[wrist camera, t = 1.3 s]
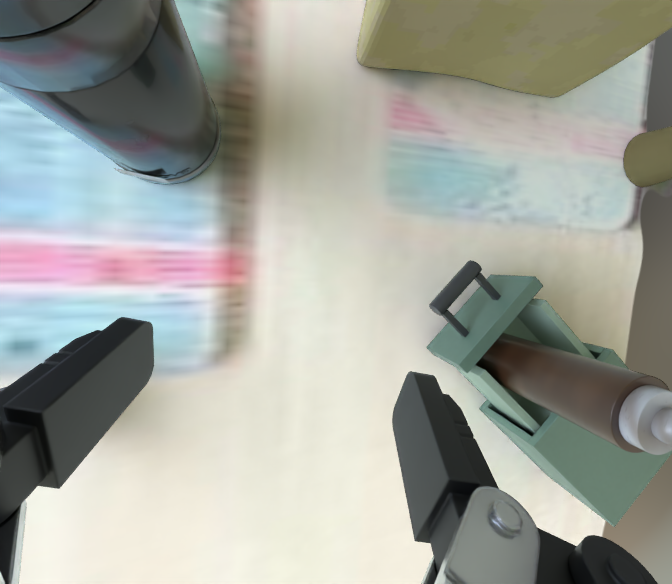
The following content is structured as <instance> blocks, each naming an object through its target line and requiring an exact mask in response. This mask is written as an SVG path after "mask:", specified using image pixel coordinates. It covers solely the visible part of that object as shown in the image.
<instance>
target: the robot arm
mask: <svg viewBox="0 0 672 584" xmlns="http://www.w3.org/2000/svg"><path fill="white" fill-rule="evenodd" d="M0 87H1V88H2V89H4V90H6V91H7V92H9V93H10V94H12V95H13V96H15V97H16V98H18V99H19V100H21V101H22V102H24V103H25V104H27V105H29V106H30V107H32V108H33V109H35V110H36V111H38V112H39V113H41V114H42V115H44V116H45V117H47V118H48V119H50V120H51V121H53V122H55V123H56V124H58V125H59V126H61V127H62V128H64V129H65V130H67V131H68V132H70V133H71V134H73V135H74V136H76V137H78V138H79V139H81V140H82V141H84V142H85V143H87V144H88V145H90V146H91V147H93V148H94V149H96V150H97V151H99V152H101V153H102V154H104V155H105V156H107V157H108V158H110V159H111V160H113V161H114V162H115V163H116V164H117V165H119V166H120V167H121V168H123V169H124V170H121V169H116V168H114V169H115V170H117V171H119V172H120V173H122V174H127V175H131V176H136V177H138V178H140V179H143V180H145V181H149V182H152V183H158V184H176V183H181V182H185V181H188V180H190V179H192V178H194V177H196V176H198V175H199V174H201V173H202V172H203V171H204V170H205V169H206V168H207V167H208V166H209V165H210V164H211V162H212V161H213V159H214V158H215V156H216V153H217V151H218V148H219V144H220V138H221V127H220V120H219V117H218V113H217V110H216V108H215V105H214V103H213V101H212V99H211V97H210V95H209V93H208V90H207V87H206V84H205V82H204V79H203V76H202V74H201V71H200V68H199V66H198V63H197V60H196V58H195V55H194V52H193V50H192V47H191V44H190V42H189V39H188V36H187V34H186V31H185V28H184V26H183V23H182V21H181V18H180V15H179V13H178V10H177V7H176V5H175V2H174V0H0ZM125 170H126V171H125ZM153 367H154V348H153V327H152V324H151V323H150V322H147V321H141V320H136V319H131V318H125V317H121V318H119V319H117V320H116V321H115V322H113V323H112V324H111V325H109V326H108V327H107V328H105V329H104V330H103V331H99V330H96V331H94V332H91V333H89V334H86V335H84V336H81V337H79V338H76V339H75V340H73V341H72V342H70V343H69V344H68V345H66V346H65V347H63V348H62V349H60V350H59V352H58V353H55V354H53V355H52V356H51V357H49V358H48V359H46V360H45V362H44V363H43V364H42V363H41V364H39V365H38V366H36V367H35V368H34V369H32V370H31V371H29V372H28V373H27V374H25V375H24V376H22V377H21V378H19V379H18V380H17V381H15V382H14V383H12V384H11V385H10V386H8V387H7V388H5V389H4V390H3V391H1V392H0V584H19V578H20V568H21V558H22V548H23V538H24V528H25V518H26V508H27V507H26V500H25V499H26V498H27V497H28V496H29V495H30V494H31V493H32V491H33V490H34V489H35V488H36V487H37V486H44V487H51V488H58V489H59V488H60V487H61V486H62V485H63V484H64V482H65V481H66V480H67V479H68V478H69V476H70V475H71V474H72V473H73V472H74V470H75V469H76V468H77V467H78V466H79V464H80V463H81V462H82V461H83V460H84V458H85V457H86V456H87V455H88V454H89V452H90V451H91V450H92V449H93V448H94V446H95V445H96V444H97V443H98V442H99V440H100V439H101V438H102V437H103V436H104V434H105V433H106V432H107V431H108V430H109V428H110V427H111V426H112V425H113V424H114V422H115V421H116V420H117V419H118V418H119V416H120V415H121V414H122V413H123V412H124V410H125V409H126V408H127V407H128V406H129V404H130V403H131V402H132V401H133V400H134V398H135V397H136V396H137V395H138V394H139V392H140V391H141V390H142V389H143V388H144V386H145V385H146V384H147V382H148V381H149V379H150V377H151V374H152V371H153ZM392 423H393V431H394V436H395V441H396V446H397V451H398V457H399V462H400V467H401V472H402V477H403V482H404V487H405V493H406V498H407V503H408V508H409V513H410V518H411V524H412V529H413V534H414V539H415V541H418V542H425V543H431V547H432V551H433V555H434V556H433V558H432V560H431V561H430V563H429V566H428V568H427V571H426V573H425V575H424V578H423V580H422V583H421V584H657V582H656V581H655V580H654V578H653V577H652V575H651V574H650V573H649V572H648V571H647V570H646V569H645V567H644V566H643V565H641V563H640V562H639V561H638V560H636V559H635V558H634V557H633V556H632V555H631V554H630V553H628V552H627V551H626V550H624V549H623V548H622V547H620V546H619V545H617V544H615V543H614V542H612V541H610V540H608V539H606V538H603V537H600V536H595V535H591V536H587V537H585V538H584V539H583V540H582V542H581V543H580V544H579V545H578V546H575V545H573V544H570V543H568V542H566V541H564V540H562V539H560V538H558V537H556V536H554V535H551V534H549V533H547V532H545V531H543V530H541V529H539V528H537V527H536V525H535V523H534V521H533V520H532V518H531V516H530V515H529V514H528V512H527V511H526V510H525V509H524V508H523V506H522V505H521V504H520V503H519V502H517V501H516V500H515V499H514V498H513V497H511V496H510V495H508V494H507V493H505V492H503V491H501V490H499V488H498V486H497V484H496V482H495V480H494V478H493V476H492V474H491V471H490V469H489V467H488V465H487V463H486V461H485V459H484V457H483V454H482V452H481V450H480V448H479V446H478V444H477V442H476V440H475V439H474V438H473V436H474V435H473V433H472V431H471V429H470V427H469V426H468V425H467V424H468V423H467V421H466V419H465V416H464V414H463V412H462V410H461V408H460V407H459V406H458V405H457V404H456V403H455V401H454V400H453V399H452V398H451V397H450V396H449V395H447V394H442V392H441V389H440V387H439V384H438V382H437V380H436V378H435V376H433V375H428V374H422V373H417V372H412V371H410V372H409V373H408V374H407V376H406V378H405V381H404V384H403V386H402V389H401V391H400V394H399V396H398V399H397V402H396V404H395V407H394V411H393V419H392Z"/></svg>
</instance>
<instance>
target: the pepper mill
mask: <svg viewBox="0 0 672 584" xmlns="http://www.w3.org/2000/svg"><path fill="white" fill-rule="evenodd" d="M475 365H476V366H478V367H480V368H482V369H485V370H486V371H487V372H488V373H489V374H490V375H491V376H492V377H493V378H494V379H495V380H496V381H497V382H498V383H499V384H500V385H502V386H503V387H505V388H507V389H509V390H511V391H513V392H515V393H517V394H519V395H521V396H522V397H524V398H526V399H528V400H530V401H532V402H534V403H536V404H538V405H540V406H541V407H543V408H545V409H547V410H549V411H551V412H553V413H555V414H557V415H558V416H560V417H562V418H564V419H566V420H568V421H570V422H572V423H574V424H576V425H577V426H579V427H581V428H583V429H585V430H587V431H589V432H591V433H593V434H595V435H596V436H598V437H600V438H602V439H604V440H606V441H608V442H610V443H612V444H614V445H615V446H617V447H619V448H621V449H623V450H625V451H627V452H631V453H641V452H647V453H649V454H653V455H662V454H665V453H668V452H669V451H671V450H672V391H670V390H669V388H668V386H667V385H666V384H665V383H664V382H663V381H661V380H660V379H658V378H656V377H653V376H649V375H645V374H642V373H639V372H636V371H632V370H629V369H625V368H622V367H618V366H615V365H612V364H608V363H605V362H601V361H598V360H595V359H591V358H588V357H584V356H581V355H577V354H574V353H571V352H567V351H564V350H560V349H557V348H554V347H550V346H547V345H543V344H540V343H537V342H533V341H530V340H526V339H523V338H519V337H516V336H513V335H509V334H506V333H502V334H501V335H500V337H499V338H498V339H497V340H496V341H495V342H494V343H493V345H492V346H491V347H490V348H489V349H488V350H487V352H486V353H485V354H484V355H483V356H482V357H481V359H480V360H479V361H478V362H477V363H476V364H475Z"/></svg>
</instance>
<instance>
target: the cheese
mask: <svg viewBox="0 0 672 584" xmlns="http://www.w3.org/2000/svg"><path fill="white" fill-rule="evenodd" d="M670 28H672V0H367V1H366V5H365V10H364V15H363V20H362V25H361V30H360V35H359V40H358V46H357V60H358V62H359V63H360V64H361V65H363V66H367V67H376V68H388V69H400V70H412V71H422V72H431V73H440V74H447V75H453V76H459V77H464V78H469V79H473V80H477V81H481V82H484V83H487V84H491V85H494V86H498V87H501V88H505V89H509V90H514V91H519V92H524V93H530V94H535V95H540V96H546V97H558V96H561V95H563V94H565V93H567V92H568V91H570V90H572V89H574V88H576V87H577V86H579V85H581V84H583V83H584V82H586V81H588V80H590V79H592V78H593V77H595V76H597V75H599V74H600V73H602V72H604V71H605V70H607V69H609V68H611V67H612V66H614V65H616V64H617V63H619V62H620V61H622V60H624V59H625V58H627V57H628V56H630V55H632V54H633V53H635V52H636V51H638V50H639V49H641V48H642V47H644V46H645V45H647V44H648V43H650V42H651V41H653V40H654V39H656V38H657V37H658V36H660V35H662V34H663V33H664V32H666V31H667V30H669V29H670Z"/></svg>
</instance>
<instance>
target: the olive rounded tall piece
mask: <svg viewBox="0 0 672 584" xmlns="http://www.w3.org/2000/svg"><path fill="white" fill-rule="evenodd" d="M624 169H625V172H626V175H627V177H628V178H629V180H630V181H631V182H632V183H633V184H635V185H636V186H640V187H647V186H651V185H654V184H657V183H660V182H663V181H666V180H670V179H672V126H671V127H667V128H663V129H659V130H655V131H650V132H646V133H642V134H639V135H637V136H635V137H634V138H633V139H632V140H631V141H630V142H629V144H628V146H627V148H626V150H625V154H624Z"/></svg>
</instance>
